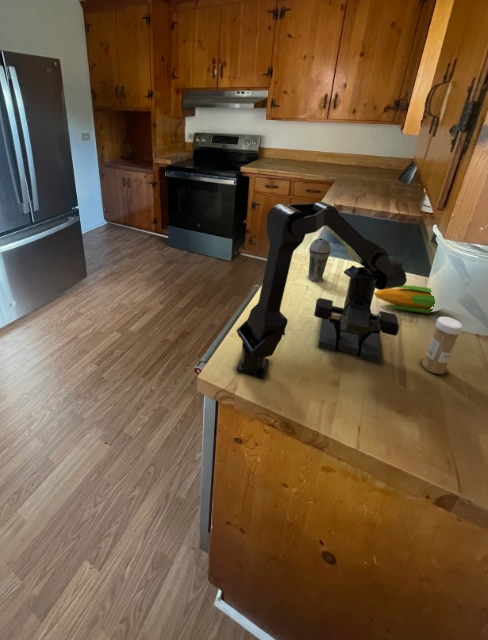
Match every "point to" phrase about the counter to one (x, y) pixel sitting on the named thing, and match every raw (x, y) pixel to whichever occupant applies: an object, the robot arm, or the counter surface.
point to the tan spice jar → (442, 344)
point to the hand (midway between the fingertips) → (348, 342)
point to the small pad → (348, 343)
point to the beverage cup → (318, 258)
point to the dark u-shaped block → (367, 348)
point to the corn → (408, 298)
